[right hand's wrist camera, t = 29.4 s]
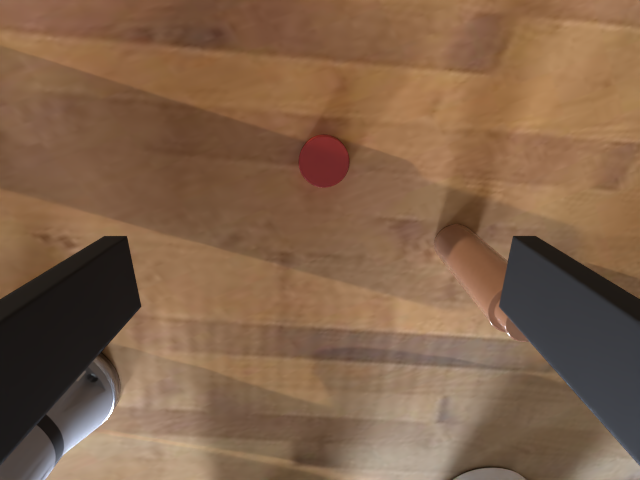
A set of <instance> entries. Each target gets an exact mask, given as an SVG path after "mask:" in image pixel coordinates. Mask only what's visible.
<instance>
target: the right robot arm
mask: <svg viewBox="0 0 640 480" xmlns="http://www.w3.org/2000/svg"><path fill="white" fill-rule="evenodd" d="M140 307H141V303H140V298H139V293H138V288H137V283H136V278H135V274H134V269H133V264H132V259H131V254H130V249H129V244H128V239H127V236H104V237H102V238H100V239H99V240H97V241H95V242H94V243H92V244H91V245H89V246H87V247H86V248H84V249H82V250H81V251H79V252H77V253H76V254H74V255H72V256H71V257H69V258H67V259H66V260H64V261H63V262H61V263H59V264H58V265H56V266H54V267H53V268H51V269H49V270H48V271H46V272H44V273H43V274H41V275H40V276H38V277H36V278H35V279H33V280H31V281H30V282H28V283H26V284H25V285H23V286H21V287H20V288H18V289H16V290H15V291H13V292H12V293H10V294H8V295H7V296H5V297H3V298H2V299H0V480H45V479H46V478H47V476H48V475H49V473H50V472H51V471H52V469H53V468H54V466H55V465H56V464H57V462H58V461H59V460H60V458H61V457H62V456H63V455H64V454H65V453H66V452H67V451H68V450H70V449H71V448H72V447H73V446H75V445H76V444H77V443H79V442H80V441H81V440H82V439H84V438H85V437H86V436H87V435H89V434H90V433H91V432H92V431H94V430H95V429H96V428H97V427H99V426H100V425H101V424H102V423H103V422H105V421H106V419H107V418H108V417H109V415H110V414H111V412H112V411H113V409H114V408H115V406H116V405H117V403H118V401H119V398H120V393H121V385H120V380H119V377H118V374H117V372H116V370H115V368H114V367H113V365H112V364H111V362H110V361H109V360H108V359H107V358H106V357H105V356H104V355H103V354H102V353H101V352H102V350H103V349H104V348H105V347H106V346H107V345H108V344H109V342H110V341H111V340H112V339H113V338H114V337H115V336H116V335H117V333H118V332H119V331H120V330H121V329H122V328H123V327H124V326H125V324H126V323H127V322H128V321H129V320H130V319H131V318H132V317H133V315H134V314H135V313H136V312H137V311H138V310H139V309H140ZM499 307H500V309H501V310H502V311H503V312H504V313H505V314H506V315H507V317H508V318H509V319H510V320H511V321H512V322H513V323H514V324H515V326H516V327H517V328H518V329H519V330H520V331H521V332H522V333H523V335H524V336H525V337H526V338H527V339H528V340H529V341H530V342H531V344H532V345H533V346H534V347H535V348H536V349H537V350H538V352H539V353H540V354H541V355H542V356H543V357H544V358H545V359H546V361H547V362H548V363H549V364H550V365H551V366H552V367H553V368H554V370H555V371H556V372H557V373H558V374H559V375H560V376H561V377H562V379H563V380H564V381H565V382H566V383H567V384H568V385H569V386H570V388H571V389H572V390H573V391H574V392H575V393H576V394H577V396H578V397H579V398H580V399H581V400H582V401H583V402H584V403H585V405H586V406H587V407H588V408H589V409H590V410H591V411H592V412H593V414H594V415H595V416H596V417H597V418H598V419H599V420H600V421H601V423H602V424H603V425H604V426H605V427H606V428H607V429H608V430H609V432H610V433H611V434H612V435H613V436H614V437H615V438H616V440H617V441H618V442H619V443H620V444H621V445H622V446H623V447H624V449H625V450H626V451H627V452H628V453H629V454H630V455H631V456H632V458H633V459H634V460H635V461H636V462H637V463H638V464H639V465H640V299H638V298H637V297H635V296H633V295H632V294H630V293H628V292H627V291H625V290H624V289H622V288H620V287H619V286H617V285H615V284H614V283H612V282H610V281H609V280H607V279H605V278H604V277H602V276H600V275H599V274H597V273H596V272H594V271H592V270H591V269H589V268H587V267H586V266H584V265H582V264H581V263H579V262H577V261H576V260H574V259H573V258H571V257H569V256H568V255H566V254H564V253H563V252H561V251H559V250H558V249H556V248H554V247H553V246H551V245H549V244H548V243H546V242H545V241H543V240H541V239H540V238H538V237H536V236H513V239H512V244H511V249H510V254H509V259H508V264H507V269H506V274H505V278H504V283H503V288H502V293H501V298H500V303H499Z"/></svg>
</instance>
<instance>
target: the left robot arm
mask: <svg viewBox="0 0 640 480" xmlns="http://www.w3.org/2000/svg"><path fill="white" fill-rule="evenodd" d="M453 480H526V479H525V478H524V477H523V476H521V475H520V474H518V473H516V472H514V471H511V470H508V469H503V468H482V469H476V470H472V471H469V472H466V473H464V474H462V475H460V476H458V477H456V478H454V479H453Z"/></svg>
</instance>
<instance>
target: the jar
mask: <svg viewBox="0 0 640 480" xmlns="http://www.w3.org/2000/svg"><path fill="white" fill-rule="evenodd" d="M434 249H435V252H436V254H437V255H438V256H439V258H440V259H441V260H442V262H443V263H444V264H445V265H446V267H447V268H448V269H449V271H450V272H451V273H452V274H453V276H454V277H455V278H456V280H457V281H458V282H459V283H460V285H461V286H462V287H463V288H464V290H465V291H466V292H467V294H468V295H469V296H470V297H471V299H472V300H473V301H474V303H475V304H476V305H477V306H478V308H479V309H480V310H481V311H482V313H483V314H484V315H485V317H486V318H487V319H488V320H489V322H490V323H491V324H492V325H493V326H494V327H495V328H496V329H498V330H500V331H502V332H506V333H507V334H508V335H509V336H510V337H511V338H513V339H515V340H517V341H522V342H528V341H529V340H528V339H527V338H526V337H525V336H524V335H523V333H522V332H521V331H520V330H519V329H518V328H517V327H516V326H515V324H514V323H513V322H512V321H511V320H510V319H509V318H508V317H507V315H506V314H505V313H504V312H503V311H502V310H501V309H500V307H499V303H500V298H501V293H502V288H503V283H504V278H505V274H506V269H507V264H508V261H507V260H506V259H505V258H504V257H502V256H501V255H500V254H499V253H498V252H496V251H495V250H494V249H493V248H492V247H490V246H489V245H488V244H487V243H486V242H484V241H483V240H482V239H481V238H480V237H478V236H477V235H476V234H475V233H474V232H472V231H471V230H470V229H469V228H467V227H466V226H464V225H460V224H454V225H450V226H447V227H445V228H444V229H442V230H441V231H440V232H439V233H438V235H437V236H436V238H435V241H434Z"/></svg>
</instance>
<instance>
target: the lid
mask: <svg viewBox="0 0 640 480" xmlns="http://www.w3.org/2000/svg"><path fill="white" fill-rule="evenodd" d="M299 168H300V171H301V174H302V175H303V177H304V178H305V179H306V180H307V181H308V182H309V183H311V184H312V185H314V186H317V187H331V186H333V185H336V184H337V183H339V182H340V181H341V180H342V179H343V178H344V177H345V175H346V173H347V171H348V168H349V155H348V152H347V150H346V148H345V147H344V145H343V144H342V142H341V141H340V140H338V139H337V138H335V137H333V136H330V135H317V136H315V137H313V138H311V139H309V140H308V141H307V142H306V143H305V144H304V146H303V148H302V150H301V152H300V155H299Z"/></svg>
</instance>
